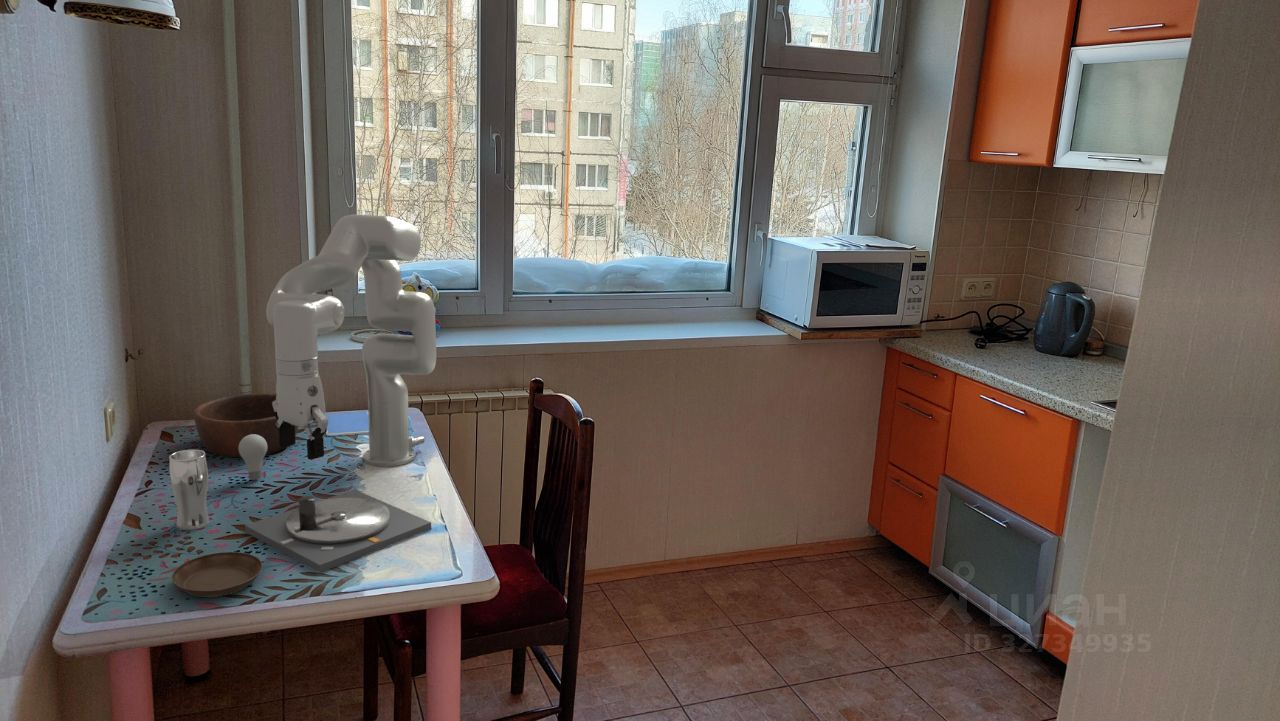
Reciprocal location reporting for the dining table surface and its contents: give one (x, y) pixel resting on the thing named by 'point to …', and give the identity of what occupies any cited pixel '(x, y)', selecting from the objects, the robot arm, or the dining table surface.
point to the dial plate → (338, 553)
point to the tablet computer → (347, 423)
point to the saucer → (217, 573)
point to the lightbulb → (253, 454)
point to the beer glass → (190, 488)
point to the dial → (336, 520)
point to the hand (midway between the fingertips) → (301, 451)
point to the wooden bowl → (237, 422)
